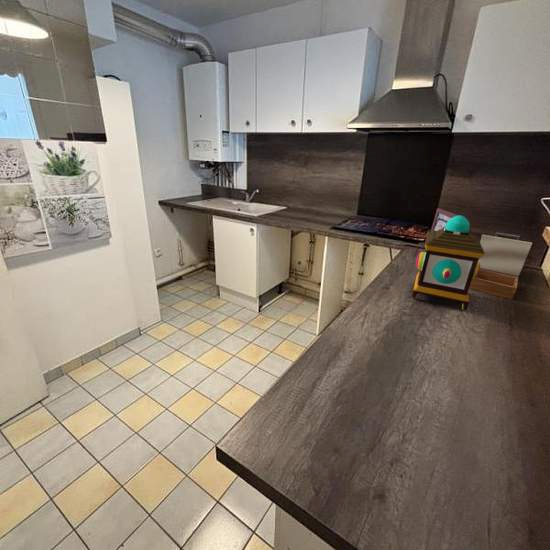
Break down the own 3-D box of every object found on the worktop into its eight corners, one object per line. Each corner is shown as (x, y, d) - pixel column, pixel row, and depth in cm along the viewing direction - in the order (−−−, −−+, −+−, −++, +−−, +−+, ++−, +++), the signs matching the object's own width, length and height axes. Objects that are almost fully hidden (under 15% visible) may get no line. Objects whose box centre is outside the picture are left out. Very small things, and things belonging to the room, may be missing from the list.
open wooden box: (512, 299, 107) (516, 288, 105) (463, 287, 116) (467, 276, 114) (513, 288, 117) (518, 277, 115) (469, 277, 126) (472, 267, 124)
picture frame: (423, 257, 149) (435, 208, 139) (442, 258, 148) (456, 208, 138) (439, 269, 133) (453, 215, 123) (460, 270, 133) (477, 216, 123)
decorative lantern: (406, 299, 105) (426, 216, 93) (411, 280, 121) (428, 207, 109) (471, 314, 97) (501, 225, 85) (467, 291, 113) (492, 214, 101)
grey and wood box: (532, 243, 107) (534, 233, 113) (482, 235, 116) (486, 226, 122) (518, 276, 114) (521, 265, 121) (472, 266, 123) (477, 256, 130)
